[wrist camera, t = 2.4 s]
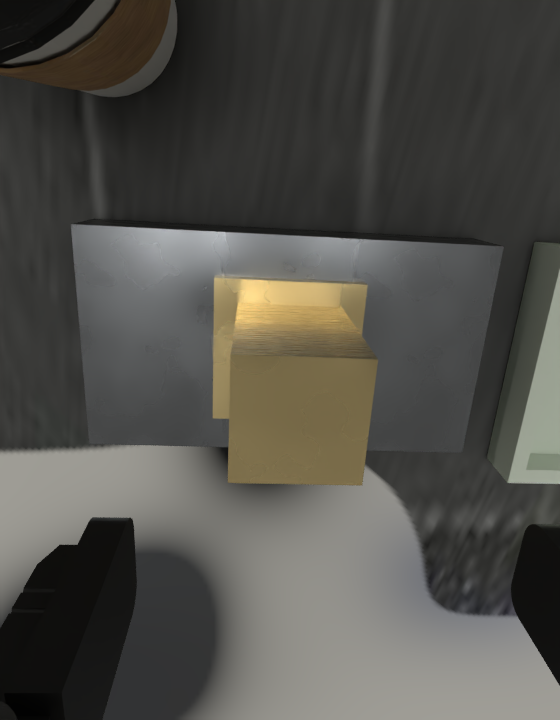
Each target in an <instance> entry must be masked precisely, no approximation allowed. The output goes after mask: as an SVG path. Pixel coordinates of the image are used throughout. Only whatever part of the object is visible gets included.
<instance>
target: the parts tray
mask: <svg viewBox="0 0 560 720" xmlns="http://www.w3.org/2000/svg"><path fill="white" fill-rule="evenodd" d="M487 459H488V460H489V461H490V462H491V464H492V465H493V466H494V467H495V468H496V470H497V471H498V472H499V473H500V474H501V475H502V477H503V478H504V479H505V480H506V481H507V483H539V484H560V243H545V242H534V246H533V251H532V255H531V260H530V264H529V269H528V273H527V278H526V282H525V287H524V291H523V296H522V300H521V305H520V309H519V314H518V318H517V323H516V327H515V332H514V336H513V341H512V345H511V350H510V354H509V359H508V363H507V368H506V372H505V377H504V382H503V386H502V391H501V395H500V400H499V404H498V409H497V413H496V418H495V422H494V427H493V431H492V436H491V440H490V445H489V449H488V454H487Z"/></svg>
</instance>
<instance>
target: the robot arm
mask: <svg viewBox="0 0 560 720" xmlns="http://www.w3.org/2000/svg"><path fill="white" fill-rule="evenodd" d="M136 588H137V577H136V558H135V540H134V525H133V520H132V519H131V518H92V519H91V520H90V521H89V523H88V525H87V527H86V529H85V531H84V533H83V535H82V537H81V539H80V541H79V543H78V545H59V546H58V547H57V548H56V549H55V550H54V551H52V552H51V553H50V554H49V555H48V556H46V557H45V558H44V559H43V560H42V561H41V562H40V563H38V564H37V566H36V568H35V569H34V571H33V573H32V574H31V576H30V578H29V580H28V581H27V583H26V585H25V587H24V590H23V593H21V594H20V595H19V597H18V599H17V600H16V602H15V604H14V606H13V607H12V612H11V614H8V616H7V618H6V620H5V621H4V623H3V625H2V627H1V628H0V720H103V716H104V713H105V709H106V706H107V702H108V699H109V695H110V692H111V688H112V685H113V681H114V678H115V674H116V671H117V667H118V664H119V661H120V657H121V654H122V650H123V646H124V643H125V640H126V636H127V633H128V629H129V625H130V622H131V619H132V615H133V610H134V605H135V599H136ZM511 596H512V602H513V606H514V609H515V612H516V614H517V616H518V618H519V620H520V621H521V623H522V624H523V626H524V628H525V629H526V631H527V633H528V634H529V636H530V638H531V639H532V641H533V643H534V644H535V646H536V647H537V649H538V651H539V652H540V654H541V656H542V657H543V659H544V661H545V662H546V664H547V666H548V667H549V669H550V670H551V672H552V674H553V675H554V677H555V679H556V680H557V682H558V683H559V685H560V525H551V524H532V525H529V526H528V527H527V528H526V530H525V533H524V536H523V540H522V544H521V548H520V552H519V556H518V560H517V564H516V568H515V572H514V575H513V579H512V584H511Z"/></svg>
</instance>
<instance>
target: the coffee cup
mask: <svg viewBox="0 0 560 720" xmlns="http://www.w3.org/2000/svg"><path fill="white" fill-rule="evenodd" d="M176 35H177V10H176V4H175V0H0V75H3V76H8V77H13V78H18V79H23V80H28V81H32V82H37V83H42V84H47V85H52V86H57V87H62V88H67V89H72V90H80V91H83V92H86V93H90V94H93V95H97V96H105V97H121V96H128V95H131V94H133V93H136V92H138V91H141V90H142V89H144V88H145V87H147V86H148V85H150V84H151V83H153V81H154V80H155V79H156V78H157V77H158V76H159V75H160V74H161V73H162V72H163V70H164V68H165V67H166V65H167V63H168V62H169V60H170V57H171V54H172V52H173V49H174V46H175V40H176Z"/></svg>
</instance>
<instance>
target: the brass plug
mask: <svg viewBox="0 0 560 720" xmlns="http://www.w3.org/2000/svg"><path fill="white" fill-rule="evenodd" d="M367 287H368V285H367V284H366V283H365V282H348V281H326V280H304V279H282V278H261V277H239V276H217V275H215V277H214V338H213V418H217V419H229V450H228V452H229V454H228V483H266V484H317V485H362V482H363V473H364V466H365V458H366V451H367V443H368V435H369V427H370V419H371V412H372V404H373V396H374V388H375V380H376V373H377V365H378V359H377V357H376V356H375V354H374V353H373V351H372V350H371V349H370V347H369V346H368V344H367V343H366V341H365V340H364V338H363V337H362V330H363V322H364V313H365V304H366V295H367Z"/></svg>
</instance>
